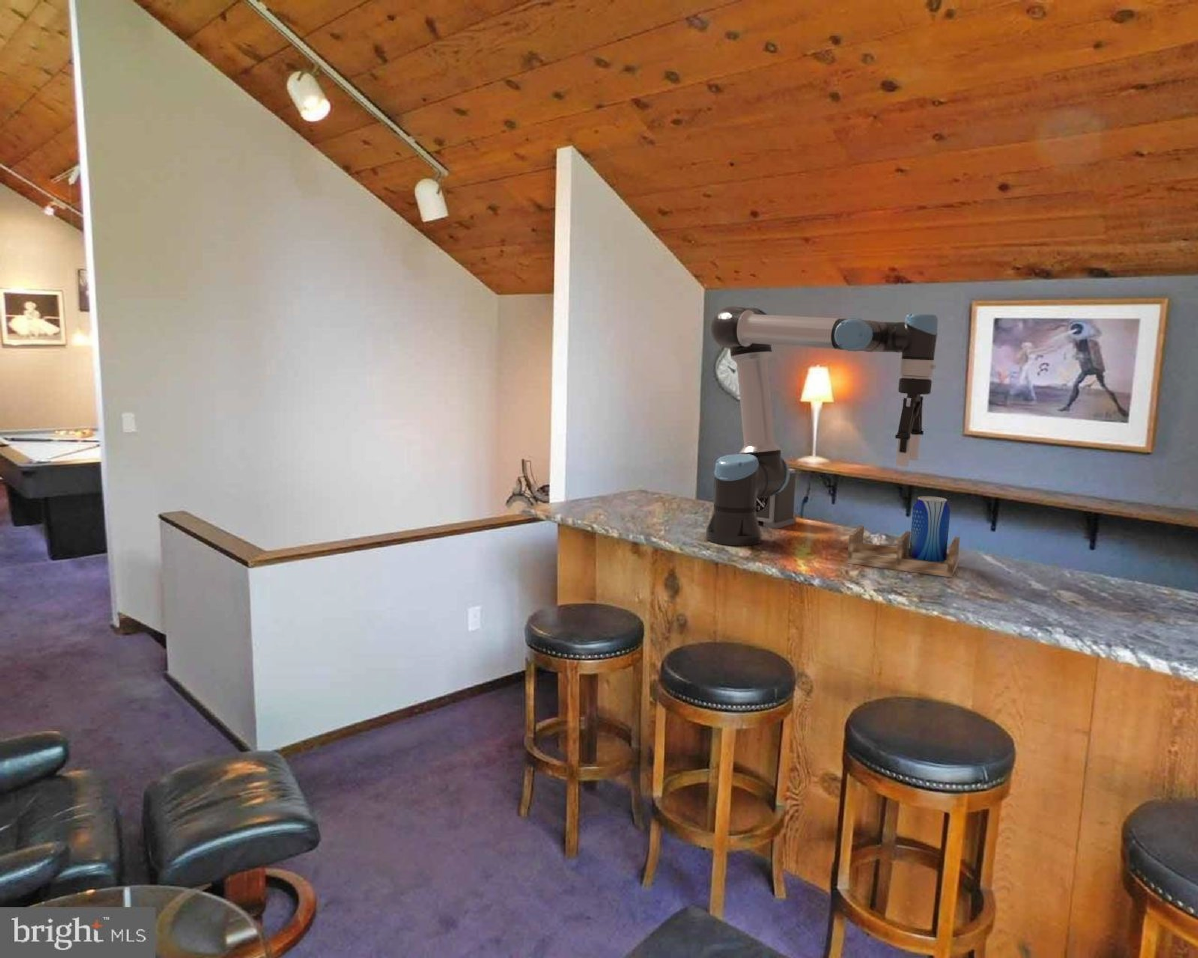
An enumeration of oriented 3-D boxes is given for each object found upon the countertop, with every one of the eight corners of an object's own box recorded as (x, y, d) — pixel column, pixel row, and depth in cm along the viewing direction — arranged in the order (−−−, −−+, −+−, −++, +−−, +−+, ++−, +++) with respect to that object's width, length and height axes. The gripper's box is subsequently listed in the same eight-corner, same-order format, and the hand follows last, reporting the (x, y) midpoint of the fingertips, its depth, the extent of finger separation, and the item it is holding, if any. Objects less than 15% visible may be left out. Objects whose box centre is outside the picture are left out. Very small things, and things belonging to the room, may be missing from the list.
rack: (847, 562, 200) (849, 534, 199) (858, 552, 211) (860, 525, 210) (951, 577, 188) (954, 547, 187) (957, 565, 199) (959, 537, 198)
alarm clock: (723, 519, 251) (726, 461, 248) (745, 514, 261) (748, 458, 258) (776, 528, 239) (779, 468, 236) (797, 522, 249) (800, 464, 246)
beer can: (949, 568, 192) (954, 502, 189) (912, 565, 193) (917, 500, 191) (941, 559, 200) (946, 496, 197) (906, 557, 201) (910, 494, 199)
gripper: (923, 379, 185) (914, 470, 189) (939, 377, 206) (930, 458, 210) (890, 377, 189) (881, 466, 192) (908, 376, 210) (900, 456, 214)
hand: (906, 462), depth 201 cm, fingers open, 13 cm apart
